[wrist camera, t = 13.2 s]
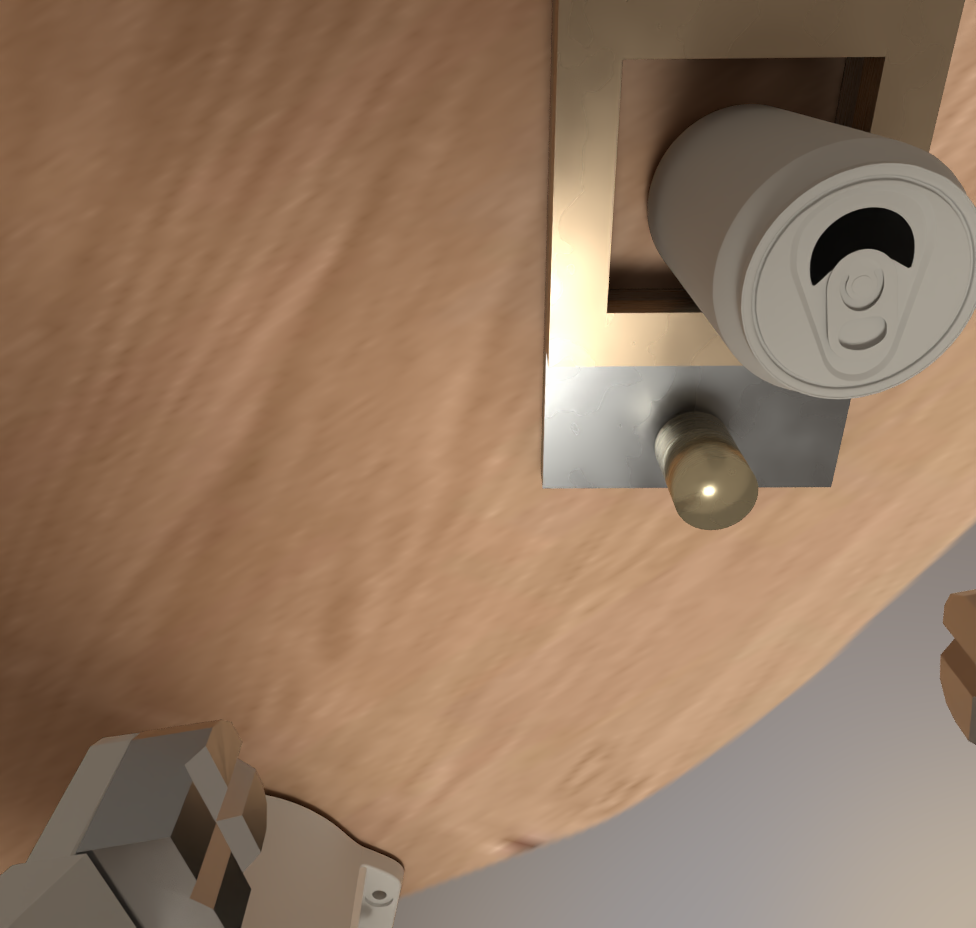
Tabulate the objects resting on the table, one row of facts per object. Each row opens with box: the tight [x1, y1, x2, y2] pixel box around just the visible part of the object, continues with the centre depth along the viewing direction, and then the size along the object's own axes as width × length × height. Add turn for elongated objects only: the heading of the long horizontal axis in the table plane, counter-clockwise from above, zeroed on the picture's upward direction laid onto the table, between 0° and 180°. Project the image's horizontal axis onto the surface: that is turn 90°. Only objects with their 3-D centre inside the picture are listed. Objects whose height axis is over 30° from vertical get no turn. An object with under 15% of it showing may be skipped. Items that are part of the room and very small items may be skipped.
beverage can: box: [648, 104, 976, 399], centre depth 24 cm, size 6×6×12 cm
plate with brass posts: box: [541, 0, 965, 530], centre depth 26 cm, size 24×12×7 cm, turn 1°
